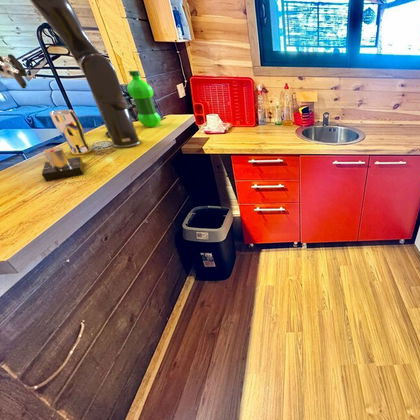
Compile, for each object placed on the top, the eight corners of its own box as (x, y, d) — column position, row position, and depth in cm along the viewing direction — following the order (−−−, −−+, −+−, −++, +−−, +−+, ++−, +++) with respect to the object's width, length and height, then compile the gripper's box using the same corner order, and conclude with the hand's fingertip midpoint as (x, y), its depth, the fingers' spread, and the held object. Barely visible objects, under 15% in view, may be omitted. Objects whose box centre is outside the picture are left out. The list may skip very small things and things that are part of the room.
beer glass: (72, 149, 101) (52, 110, 93) (94, 147, 104) (76, 109, 96) (67, 156, 96) (45, 114, 88) (91, 153, 99) (71, 113, 91)
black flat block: (49, 169, 86) (44, 161, 85) (83, 163, 91) (79, 156, 90) (45, 181, 79) (41, 173, 78) (83, 174, 84) (79, 167, 82)
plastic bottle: (166, 123, 137) (151, 70, 123) (156, 128, 128) (138, 72, 114) (147, 122, 137) (130, 69, 123) (136, 128, 128) (115, 71, 114)
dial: (53, 165, 83) (43, 148, 80) (70, 162, 86) (61, 145, 82) (52, 170, 80) (41, 152, 77) (70, 166, 83) (60, 149, 79)
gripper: (-81, 27, 66) (-39, 81, 68) (-2, 30, 77) (34, 77, 78) (-68, 50, 72) (-29, 99, 73) (5, 50, 82) (38, 93, 83)
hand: (3, 88), depth 75 cm, fingers open, 8 cm apart
